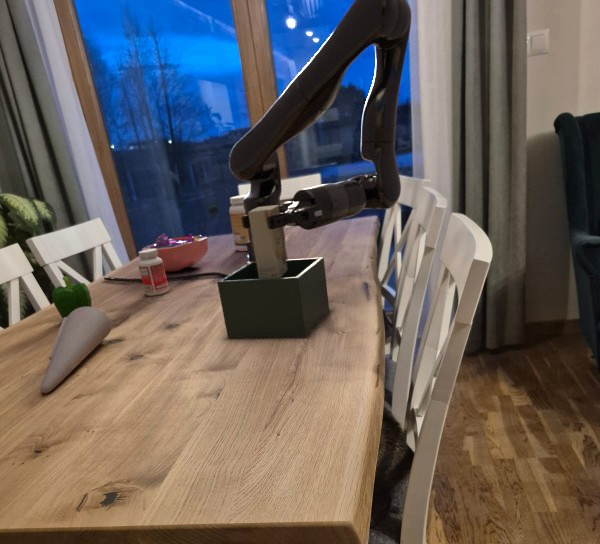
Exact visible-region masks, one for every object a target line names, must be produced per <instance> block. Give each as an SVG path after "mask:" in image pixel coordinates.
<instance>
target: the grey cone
mask: <svg viewBox="0 0 600 544" xmlns="http://www.w3.org/2000/svg"><path fill="white" fill-rule="evenodd" d="M111 329H112V323H111V318H110V317H109V316H108V314H106V312H105V311H103V310H102V309H100V308H97V307H94V306H92V307H80V308H77V309H75V310H74V311H72V312H71V313H70V314H69V316H68V317H64V318H62V321H61V324H60V327H59V329H58V332H57V334H56V338H55V341H54V343H53V345H52V349H51V351H50V354H49V358H48V359H49V363H48V366H47V368H46V370H45V374H44V375H43V377H42V380H41V383H40V392H41V393H43V394H48V393H50V392H52V391H53V390H54V389H55V388H56V387H58V385H59V384H60V383H61V382H62V381H64V380H65V379H66V377H68V375H70V374H71V372H73V370H75V369H76V367H77V366H79V365H80V364H81V363H82V362H83V361H84V360H85V358H87V356H89V355H90V354H91V353H92V352H93V351H94V350H95V349H96V348H97V346H98V345H100V344H101V343H102V342H103V341H104V340H105V339H106V338H107V337H108V336H109V335H110V332H111Z"/></svg>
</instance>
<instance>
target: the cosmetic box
mask: <svg viewBox="0 0 600 544" xmlns="http://www.w3.org/2000/svg"><path fill="white" fill-rule="evenodd" d="M248 214H249V220H250V226H251V232H252V238H253V245H254V251H255V257H256V263H257V269H258V276H259V279H266V278H280V277H282V276H283V275H284V274H285V272H286V271H287V270H288V269H287V262H286V255H285V248H284V241H283V234H282V227H279V228H276V229H269V228H268V224H267V217H268V216H272V215H276V214H279V206H278V205H273V206H264V207H257V208H256V209H253V210H252V211H250V212H248Z"/></svg>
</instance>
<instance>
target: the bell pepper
mask: <svg viewBox="0 0 600 544" xmlns="http://www.w3.org/2000/svg"><path fill="white" fill-rule="evenodd" d="M62 280H63V281H64V283H65V284H64V285H65V286H61V285H60V286H57V287H56V288H55V289H54V290H52V293H51V299H52V302H53V304H54V306H55V308H56V311H57V312H58V313H59V315H60V317H61V318H62V319H63V318H64V317H68V316H69V314H70V313H71V312H72V311H74V310H75V309H77V308H80V307H93V305H92V297H91V294H90V290H89V288H88V286H87V285H86V283H85V282H79V283H75V284H74V283H71V282H70V280H69V278H68V277H67V275H66V276H65V275H63V276H62Z"/></svg>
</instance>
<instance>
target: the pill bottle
mask: <svg viewBox="0 0 600 544" xmlns="http://www.w3.org/2000/svg"><path fill="white" fill-rule="evenodd" d="M157 255H158V252H157V249H147V250H140V251H138V257H139V259H140V260H139V261H138V265H137V266H138V270H139V273H140V279H142V282H141V283H142V286H143V290H144V294H145V295H146V296H148V297H154V296H160V295H163V294H166V293H168V292H169V291H170V287H169V283H168V280H167V278H166V277H167V275H166V271H165V270H164V266H163V261H162V259H161V258H159V257H157Z"/></svg>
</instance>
